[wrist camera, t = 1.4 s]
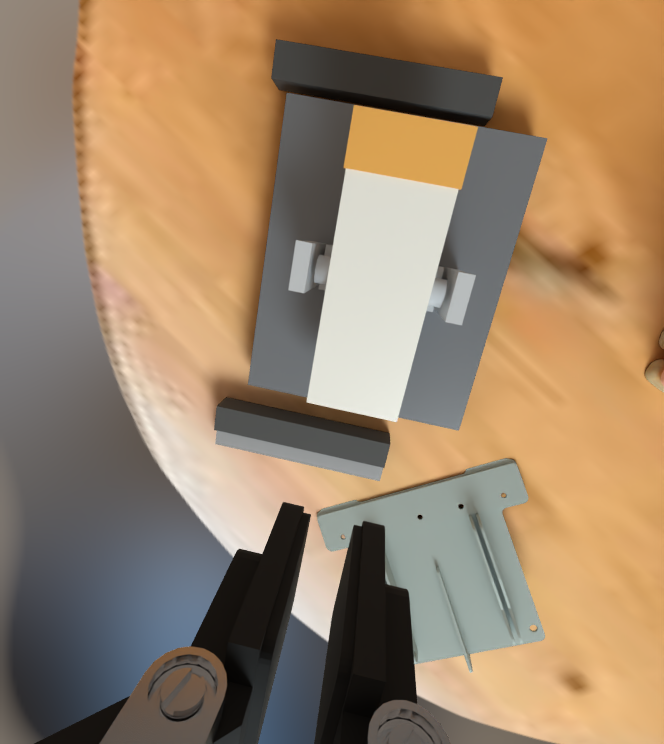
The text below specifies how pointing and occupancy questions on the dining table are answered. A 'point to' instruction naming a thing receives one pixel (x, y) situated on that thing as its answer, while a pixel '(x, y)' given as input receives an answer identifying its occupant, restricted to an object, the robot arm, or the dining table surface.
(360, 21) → the dining table surface
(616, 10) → the dining table surface
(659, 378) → the grandmother figurine
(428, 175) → the rocker lever
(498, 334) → the dining table surface
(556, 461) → the dining table surface
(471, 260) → the panel
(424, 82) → the pair of grey rails
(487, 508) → the metal bracket
